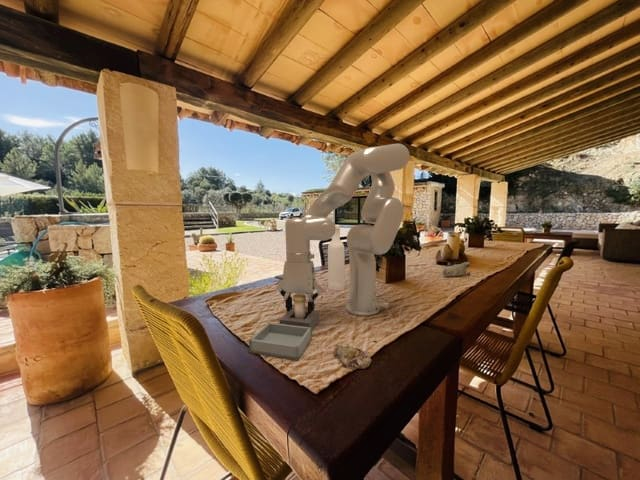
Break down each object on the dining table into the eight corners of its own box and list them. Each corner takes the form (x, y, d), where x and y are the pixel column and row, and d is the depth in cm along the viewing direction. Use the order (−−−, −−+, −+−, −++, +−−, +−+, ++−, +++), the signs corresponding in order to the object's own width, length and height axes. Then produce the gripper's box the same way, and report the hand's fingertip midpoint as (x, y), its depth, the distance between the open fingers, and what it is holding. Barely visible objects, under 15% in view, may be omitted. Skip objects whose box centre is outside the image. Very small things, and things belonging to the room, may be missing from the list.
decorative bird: (440, 276, 139) (440, 263, 138) (463, 274, 143) (464, 260, 142) (447, 279, 134) (448, 265, 133) (472, 276, 138) (472, 262, 137)
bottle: (324, 289, 120) (323, 225, 116) (333, 284, 127) (332, 224, 123) (340, 292, 116) (339, 225, 112) (347, 287, 123) (347, 224, 119)
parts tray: (312, 338, 75) (311, 327, 75) (298, 360, 65) (297, 347, 64) (268, 333, 79) (268, 322, 79) (249, 352, 69) (248, 340, 68)
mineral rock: (379, 350, 65) (363, 356, 59) (377, 368, 64) (360, 376, 58) (344, 338, 72) (326, 342, 66) (342, 354, 72) (324, 360, 66)
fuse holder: (319, 320, 88) (319, 310, 87) (309, 334, 78) (309, 323, 78) (292, 317, 91) (291, 307, 90) (279, 330, 81) (279, 319, 81)
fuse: (308, 323, 86) (307, 294, 84) (304, 328, 82) (303, 298, 81) (296, 321, 87) (296, 293, 86) (292, 327, 83) (291, 297, 82)
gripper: (327, 256, 83) (328, 309, 85) (278, 254, 88) (280, 304, 90) (321, 260, 75) (322, 318, 78) (268, 258, 80) (270, 313, 83)
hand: (299, 310), depth 84 cm, fingers open, 6 cm apart
